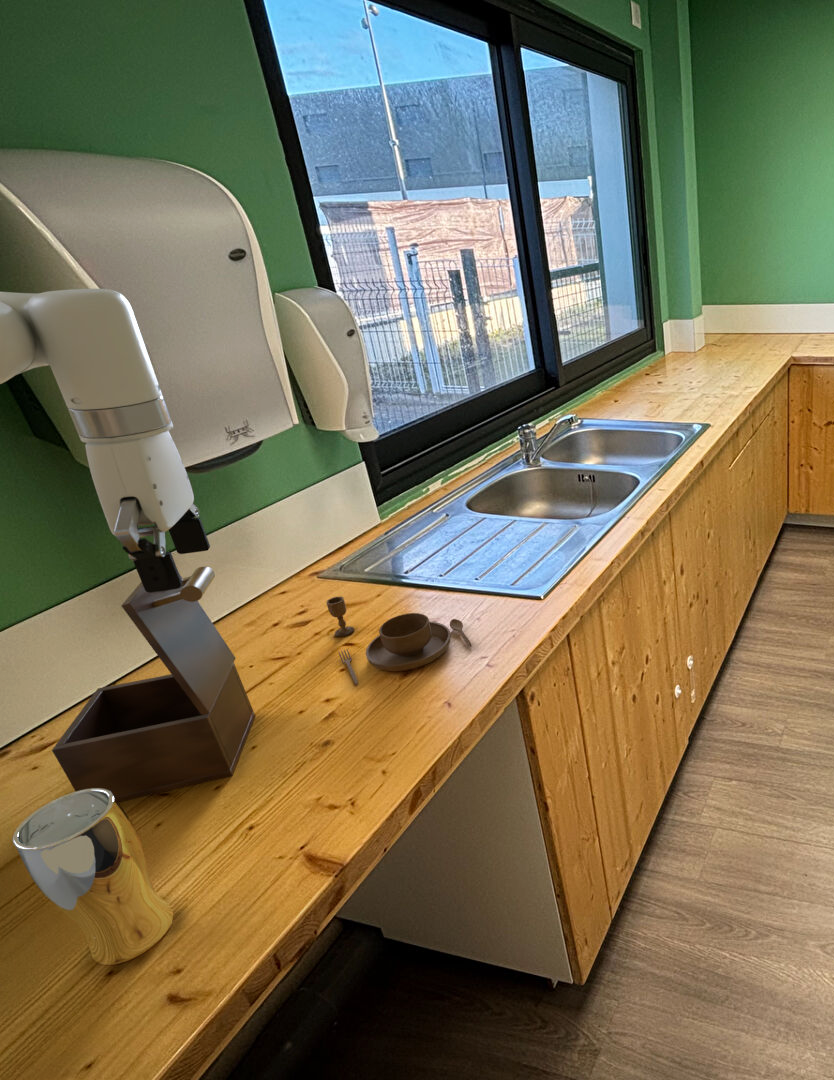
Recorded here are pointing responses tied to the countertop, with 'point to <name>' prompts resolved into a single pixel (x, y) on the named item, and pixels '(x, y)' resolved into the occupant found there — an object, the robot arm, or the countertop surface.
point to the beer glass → (95, 872)
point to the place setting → (399, 640)
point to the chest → (154, 738)
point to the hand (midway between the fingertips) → (180, 569)
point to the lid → (184, 636)
